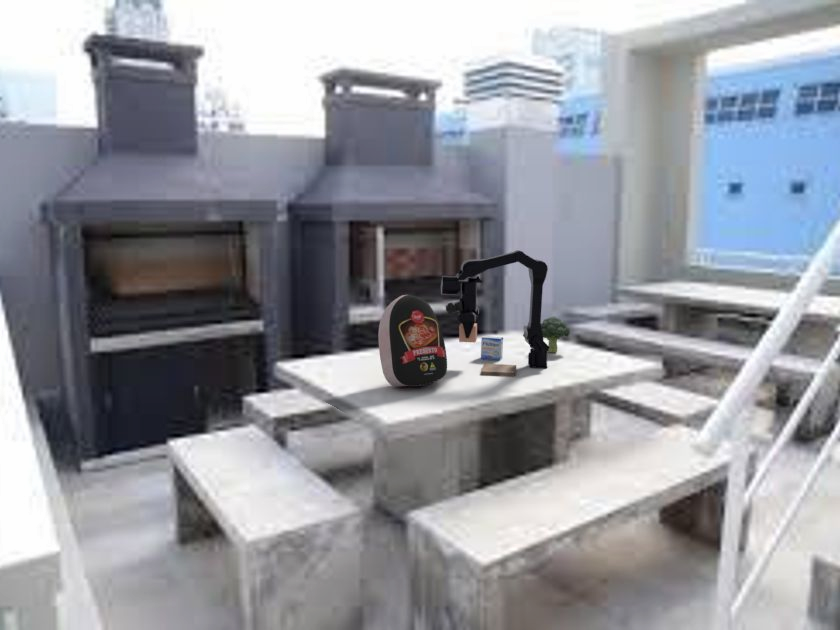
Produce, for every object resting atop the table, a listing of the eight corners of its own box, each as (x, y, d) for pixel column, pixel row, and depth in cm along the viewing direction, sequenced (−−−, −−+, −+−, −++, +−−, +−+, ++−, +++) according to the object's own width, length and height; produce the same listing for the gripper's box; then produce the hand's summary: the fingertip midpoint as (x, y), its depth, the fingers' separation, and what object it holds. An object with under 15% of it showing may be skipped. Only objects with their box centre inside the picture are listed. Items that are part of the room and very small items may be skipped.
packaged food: (401, 396, 215) (401, 302, 210) (368, 383, 231) (367, 295, 226) (455, 386, 228) (456, 297, 223) (420, 374, 244) (421, 290, 239)
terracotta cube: (476, 339, 256) (477, 323, 255) (475, 342, 250) (475, 326, 249) (460, 338, 257) (461, 322, 256) (459, 341, 251) (459, 325, 250)
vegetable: (535, 348, 286) (536, 313, 284) (566, 349, 286) (567, 314, 283) (539, 355, 274) (540, 318, 272) (571, 356, 274) (572, 319, 271)
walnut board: (516, 368, 253) (516, 365, 253) (515, 376, 242) (515, 373, 241) (483, 366, 255) (483, 363, 255) (481, 374, 244) (481, 371, 243)
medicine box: (480, 359, 268) (481, 337, 266) (482, 356, 272) (483, 335, 270) (500, 360, 265) (501, 338, 264) (502, 358, 269) (503, 336, 268)
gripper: (450, 290, 261) (449, 330, 264) (443, 297, 243) (443, 340, 246) (479, 291, 259) (478, 332, 262) (475, 298, 241) (474, 341, 244)
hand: (468, 336), depth 253 cm, fingers closed on terracotta cube, 6 cm apart
